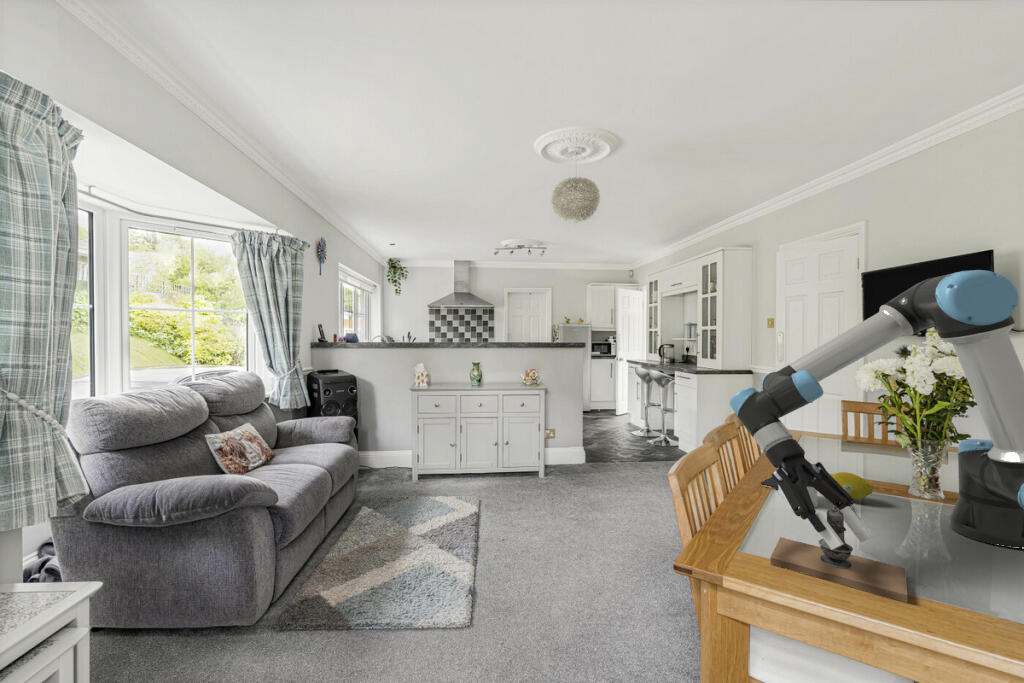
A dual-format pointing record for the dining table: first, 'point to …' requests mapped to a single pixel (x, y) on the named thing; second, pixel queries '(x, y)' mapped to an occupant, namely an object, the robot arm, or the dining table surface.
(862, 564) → the walnut board
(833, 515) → the grey tall carved piece
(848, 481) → the lemon
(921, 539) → the dining table surface
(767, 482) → the smart home device
